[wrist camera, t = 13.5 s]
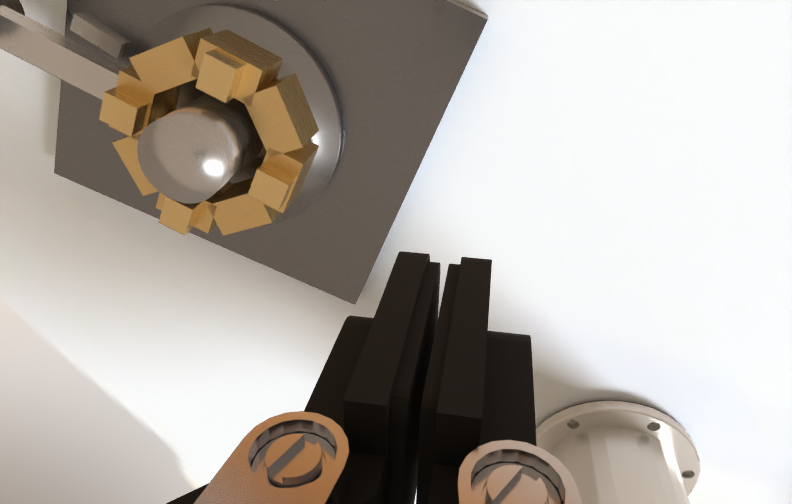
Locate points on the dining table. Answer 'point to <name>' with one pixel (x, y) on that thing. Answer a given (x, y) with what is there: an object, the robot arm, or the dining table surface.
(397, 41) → the base plate
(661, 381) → the dining table surface
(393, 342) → the robot arm
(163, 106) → the knobbed lever handle
